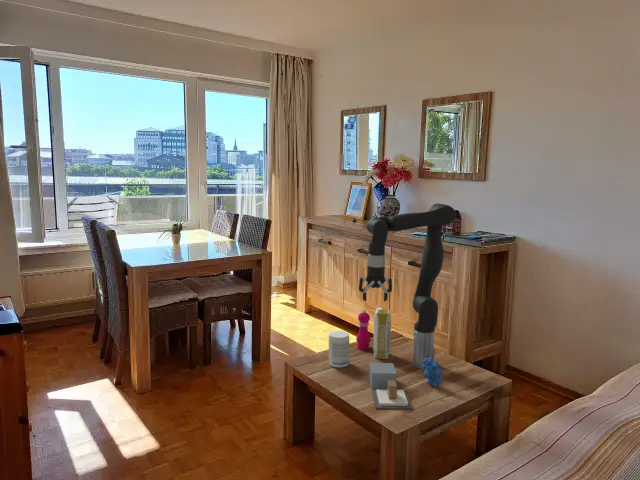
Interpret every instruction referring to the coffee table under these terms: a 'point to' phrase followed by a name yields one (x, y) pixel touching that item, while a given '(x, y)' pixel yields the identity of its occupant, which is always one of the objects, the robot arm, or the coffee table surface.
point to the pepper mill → (363, 331)
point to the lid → (391, 395)
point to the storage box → (381, 375)
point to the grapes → (432, 371)
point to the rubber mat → (391, 406)
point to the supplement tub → (338, 349)
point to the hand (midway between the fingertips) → (374, 300)
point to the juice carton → (382, 333)
